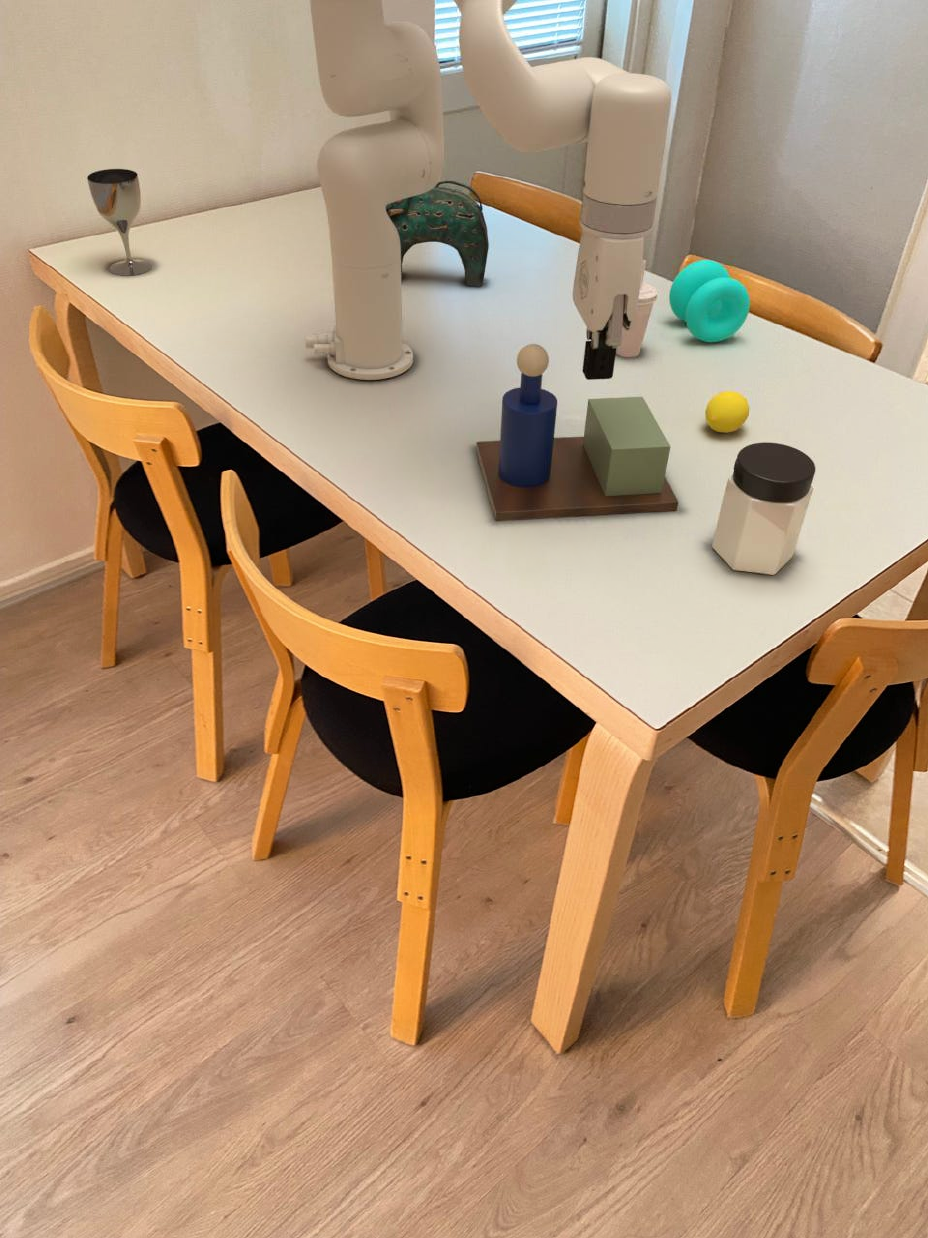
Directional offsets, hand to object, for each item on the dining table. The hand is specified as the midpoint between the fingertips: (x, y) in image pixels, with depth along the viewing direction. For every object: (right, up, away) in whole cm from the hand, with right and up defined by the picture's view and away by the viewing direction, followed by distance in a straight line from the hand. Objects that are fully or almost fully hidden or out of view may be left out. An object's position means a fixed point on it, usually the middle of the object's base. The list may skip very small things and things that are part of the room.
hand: (597, 375), depth 112 cm
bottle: (-3, -9, +7) cm, 12 cm away
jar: (+17, -21, -2) cm, 27 cm away
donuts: (+23, +17, +42) cm, 51 cm away
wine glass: (-73, +33, +56) cm, 98 cm away
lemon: (+20, -3, +19) cm, 28 cm away
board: (-2, -11, +9) cm, 14 cm away
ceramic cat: (-21, +30, +55) cm, 67 cm away
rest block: (+4, -9, +9) cm, 13 cm away
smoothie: (+9, +13, +36) cm, 40 cm away
